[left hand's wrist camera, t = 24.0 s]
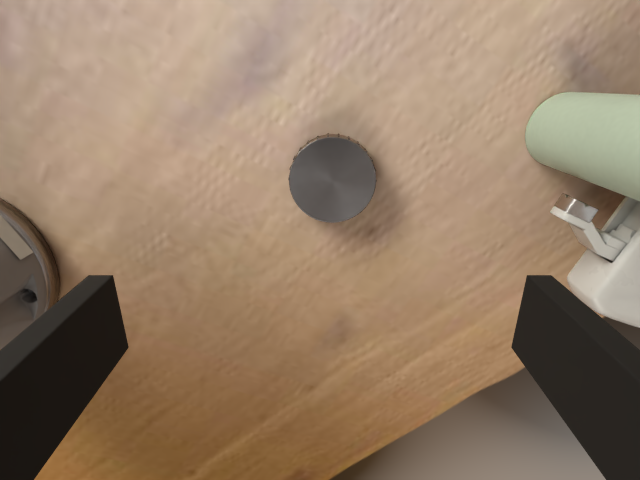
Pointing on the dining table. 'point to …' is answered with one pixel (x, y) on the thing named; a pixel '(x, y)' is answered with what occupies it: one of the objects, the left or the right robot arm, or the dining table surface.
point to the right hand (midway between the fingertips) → (606, 136)
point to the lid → (332, 178)
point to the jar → (590, 138)
